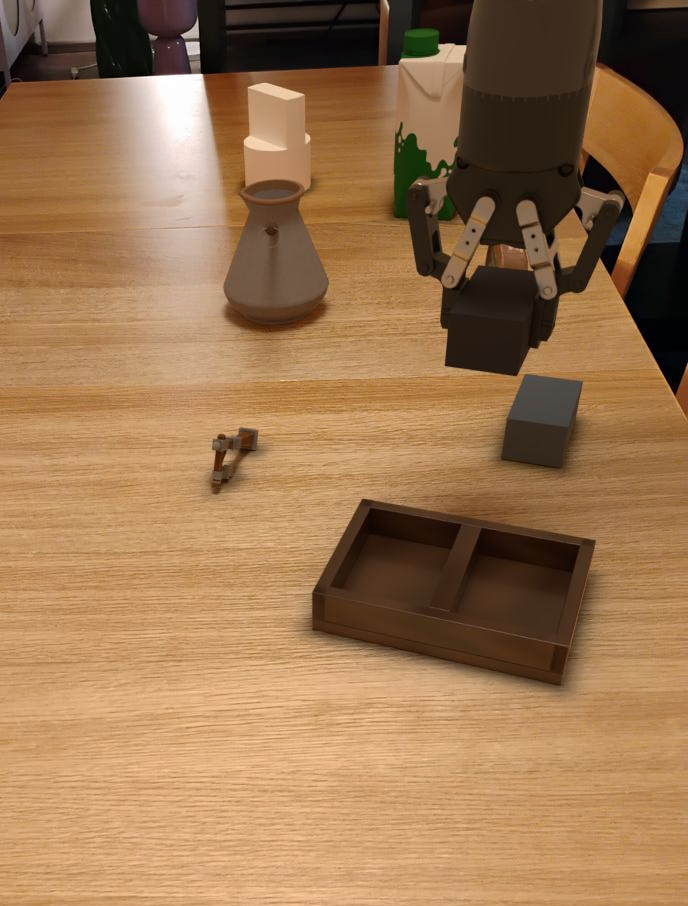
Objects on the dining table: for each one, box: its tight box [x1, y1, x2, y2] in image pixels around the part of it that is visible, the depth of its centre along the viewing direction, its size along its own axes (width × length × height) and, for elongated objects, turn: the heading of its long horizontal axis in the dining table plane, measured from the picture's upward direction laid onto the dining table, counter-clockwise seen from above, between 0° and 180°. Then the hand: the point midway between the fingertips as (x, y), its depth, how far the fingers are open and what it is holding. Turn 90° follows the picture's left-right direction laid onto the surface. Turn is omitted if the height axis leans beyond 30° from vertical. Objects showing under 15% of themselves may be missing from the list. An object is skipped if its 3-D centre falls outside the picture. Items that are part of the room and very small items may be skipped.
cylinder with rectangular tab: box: [243, 82, 312, 192], centre depth 138 cm, size 9×9×12 cm
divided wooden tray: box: [311, 497, 597, 686], centre depth 74 cm, size 18×12×4 cm
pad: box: [500, 373, 584, 469], centre depth 89 cm, size 5×8×4 cm, turn 157°
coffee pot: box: [222, 179, 330, 326], centre depth 105 cm, size 21×12×15 cm, turn 176°
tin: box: [484, 244, 529, 270], centre depth 105 cm, size 15×3×8 cm, turn 172°
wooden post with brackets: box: [211, 426, 259, 489], centre depth 90 cm, size 2×8×4 cm, turn 157°
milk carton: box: [393, 28, 467, 221], centre depth 125 cm, size 9×9×20 cm
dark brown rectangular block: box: [444, 264, 538, 377], centre depth 72 cm, size 5×8×4 cm, turn 155°
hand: (494, 337), depth 73 cm, fingers closed on dark brown rectangular block, 5 cm apart
